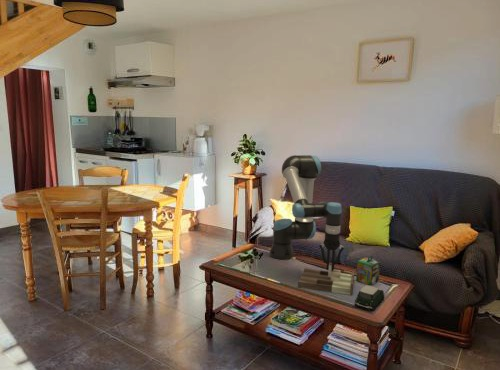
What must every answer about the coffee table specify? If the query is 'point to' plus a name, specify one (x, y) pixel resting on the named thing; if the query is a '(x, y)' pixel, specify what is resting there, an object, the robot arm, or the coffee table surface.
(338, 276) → the birch block
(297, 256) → the coffee table surface
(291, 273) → the coffee table surface
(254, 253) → the coffee table surface
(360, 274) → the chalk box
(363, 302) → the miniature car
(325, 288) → the brown striped flat block
